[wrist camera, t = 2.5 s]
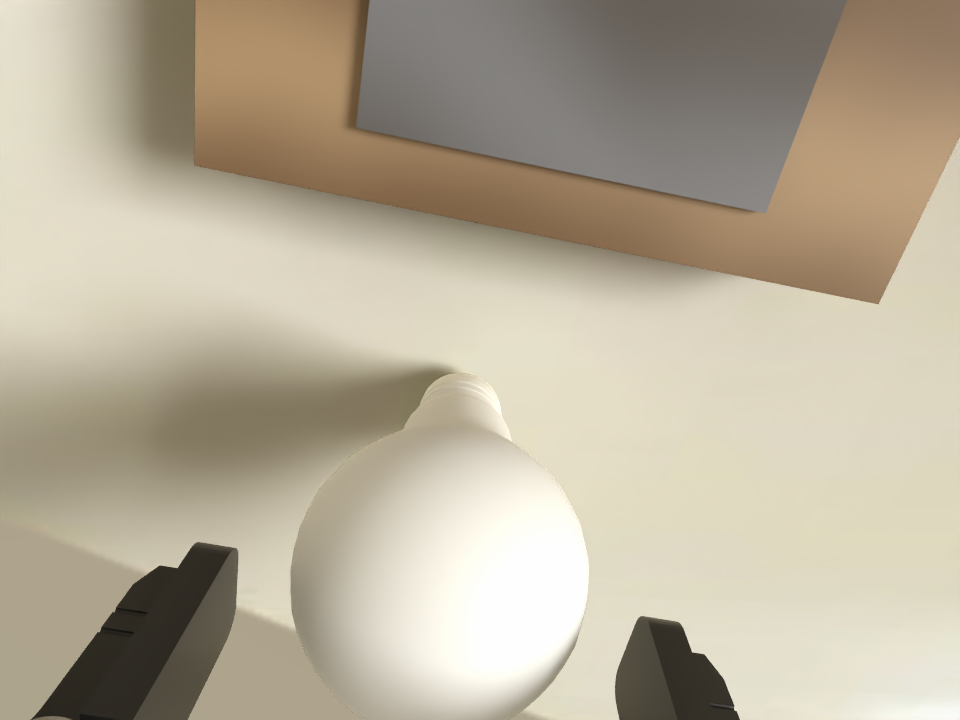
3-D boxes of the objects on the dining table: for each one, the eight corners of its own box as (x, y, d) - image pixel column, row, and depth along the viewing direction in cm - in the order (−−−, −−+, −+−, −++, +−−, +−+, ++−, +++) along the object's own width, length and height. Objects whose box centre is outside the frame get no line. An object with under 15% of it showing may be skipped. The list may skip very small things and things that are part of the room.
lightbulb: (391, 484, 22) (299, 826, 12) (349, 324, 19) (186, 579, 9) (563, 463, 21) (625, 802, 11) (542, 295, 19) (596, 534, 9)
